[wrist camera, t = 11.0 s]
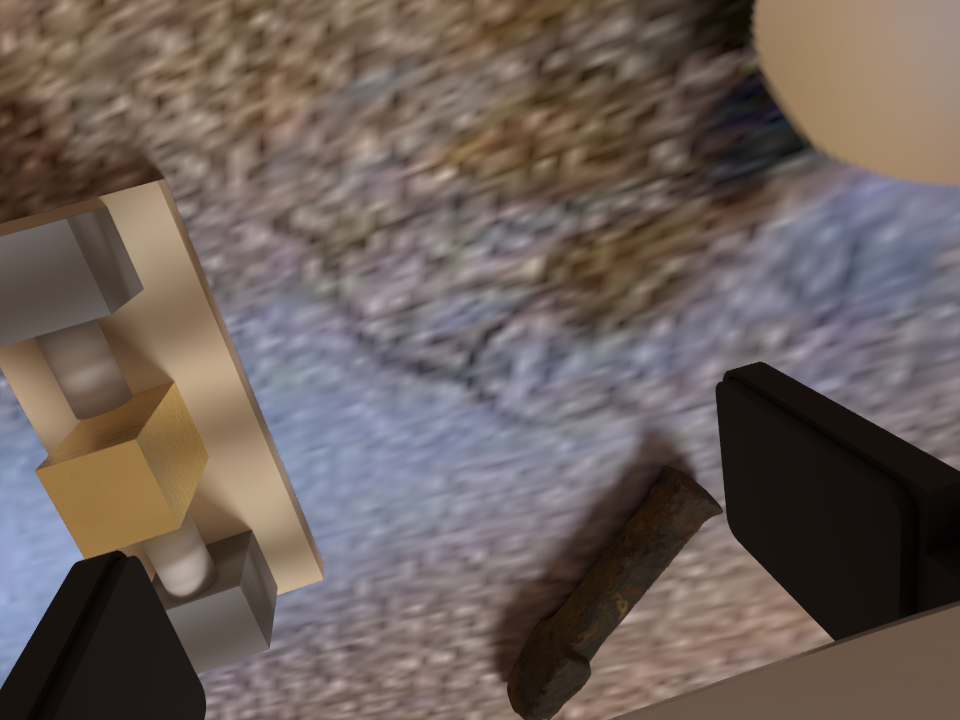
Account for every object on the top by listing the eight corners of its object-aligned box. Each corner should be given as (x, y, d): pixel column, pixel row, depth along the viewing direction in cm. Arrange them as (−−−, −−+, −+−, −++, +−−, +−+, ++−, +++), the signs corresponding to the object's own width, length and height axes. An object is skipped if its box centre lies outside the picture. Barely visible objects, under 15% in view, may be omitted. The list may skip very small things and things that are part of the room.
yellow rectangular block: (94, 405, 33) (35, 470, 27) (174, 381, 34) (135, 439, 27) (132, 481, 35) (85, 559, 28) (209, 456, 35) (179, 528, 29)
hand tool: (661, 452, 43) (696, 487, 38) (702, 484, 44) (741, 521, 40) (475, 666, 45) (488, 721, 41) (519, 690, 46) (537, 746, 42)
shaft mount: (-51, 238, 31) (-144, 261, 25) (165, 178, 32) (125, 187, 26) (156, 621, 39) (123, 709, 33) (323, 564, 40) (321, 639, 34)
